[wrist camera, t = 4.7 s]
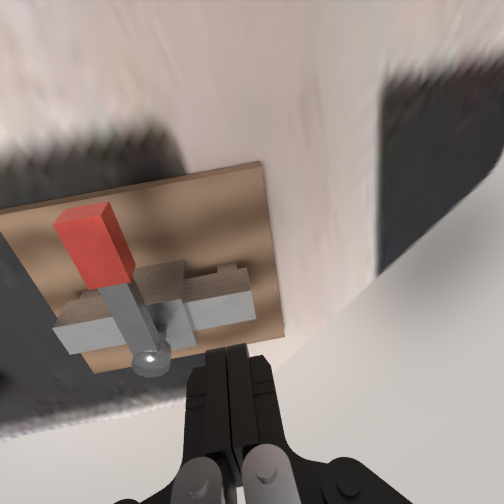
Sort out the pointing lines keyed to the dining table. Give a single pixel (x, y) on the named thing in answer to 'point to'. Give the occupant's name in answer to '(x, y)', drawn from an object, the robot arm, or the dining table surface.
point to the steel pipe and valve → (162, 307)
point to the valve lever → (114, 281)
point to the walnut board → (165, 246)
